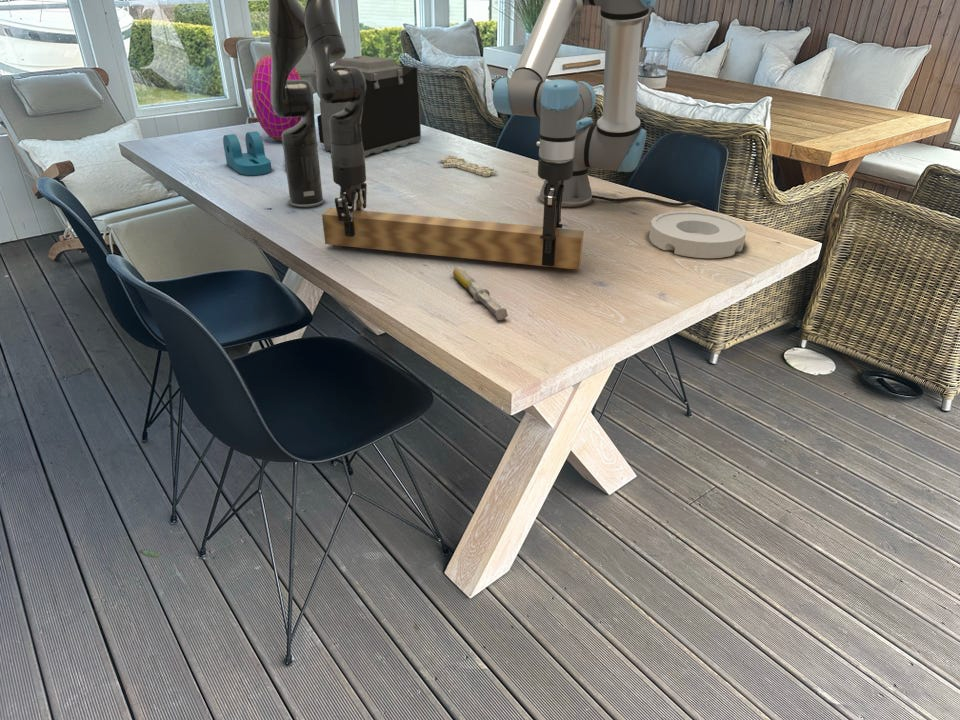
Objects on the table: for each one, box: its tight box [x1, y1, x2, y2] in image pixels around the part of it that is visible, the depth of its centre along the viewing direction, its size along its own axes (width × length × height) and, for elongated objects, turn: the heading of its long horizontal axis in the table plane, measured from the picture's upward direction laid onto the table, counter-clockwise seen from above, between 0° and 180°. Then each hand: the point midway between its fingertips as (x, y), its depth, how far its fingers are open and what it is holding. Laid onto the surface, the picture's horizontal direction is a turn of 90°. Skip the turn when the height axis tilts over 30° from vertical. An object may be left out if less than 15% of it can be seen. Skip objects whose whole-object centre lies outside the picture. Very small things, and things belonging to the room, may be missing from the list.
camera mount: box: [222, 131, 272, 176], centre depth 226 cm, size 18×10×10 cm, turn 35°
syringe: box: [452, 266, 509, 321], centre depth 145 cm, size 25×4×3 cm, turn 21°
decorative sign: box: [440, 154, 496, 177], centre depth 233 cm, size 26×1×10 cm
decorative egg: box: [251, 54, 302, 142], centre depth 257 cm, size 19×19×30 cm
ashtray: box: [648, 210, 747, 259], centre depth 174 cm, size 23×23×4 cm
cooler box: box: [310, 55, 422, 158], centre depth 250 cm, size 37×22×30 cm, turn 144°
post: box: [321, 207, 585, 270], centre depth 161 cm, size 62×5×8 cm, turn 77°
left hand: (354, 231), depth 166 cm, fingers closed on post, 5 cm apart
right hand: (549, 260), depth 158 cm, fingers closed on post, 5 cm apart
